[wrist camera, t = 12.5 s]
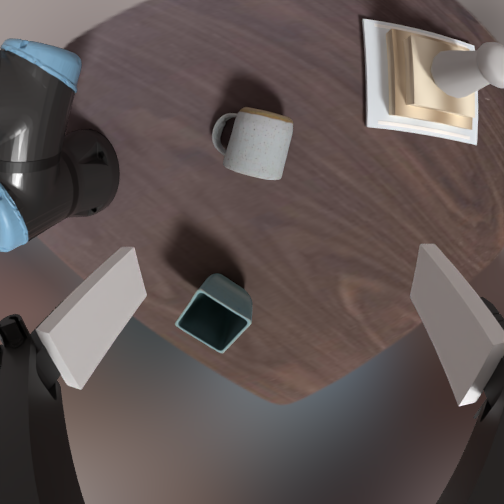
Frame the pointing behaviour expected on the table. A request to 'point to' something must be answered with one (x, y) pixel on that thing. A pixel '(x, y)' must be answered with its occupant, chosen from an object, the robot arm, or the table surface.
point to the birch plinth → (400, 84)
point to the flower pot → (217, 313)
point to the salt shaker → (469, 69)
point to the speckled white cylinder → (255, 142)
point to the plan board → (380, 90)
